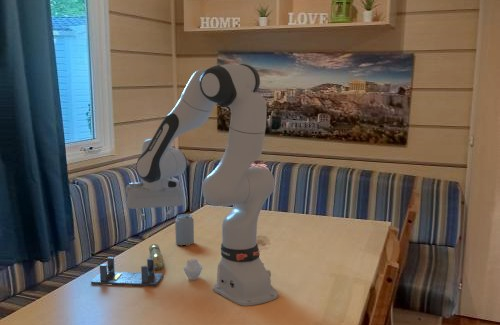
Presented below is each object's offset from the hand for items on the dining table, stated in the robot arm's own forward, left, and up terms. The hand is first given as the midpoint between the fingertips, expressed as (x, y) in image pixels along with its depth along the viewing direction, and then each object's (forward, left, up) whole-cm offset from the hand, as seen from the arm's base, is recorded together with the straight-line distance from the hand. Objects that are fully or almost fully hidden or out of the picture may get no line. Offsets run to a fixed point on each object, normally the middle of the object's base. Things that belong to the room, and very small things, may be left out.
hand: (155, 218), depth 183 cm
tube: (-1, +1, -16) cm, 16 cm away
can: (+13, -16, -17) cm, 27 cm away
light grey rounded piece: (-22, -5, -17) cm, 28 cm away
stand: (-13, +15, -16) cm, 25 cm away
